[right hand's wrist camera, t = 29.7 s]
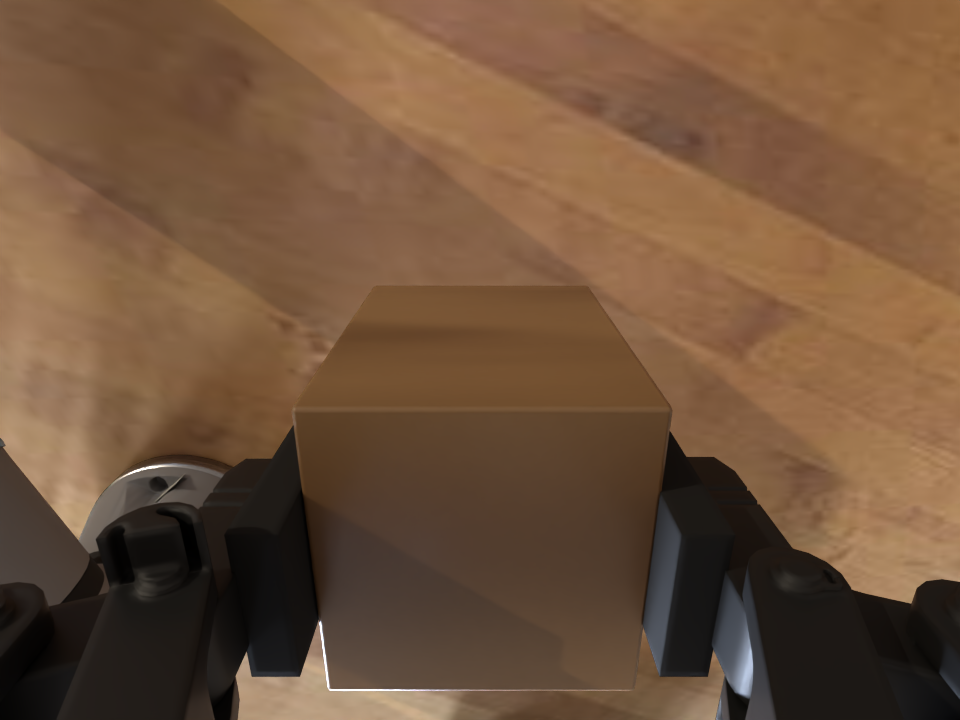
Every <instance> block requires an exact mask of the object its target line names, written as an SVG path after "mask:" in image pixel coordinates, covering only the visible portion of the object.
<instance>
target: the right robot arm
mask: <svg viewBox="0 0 960 720" xmlns="http://www.w3.org/2000/svg"><path fill="white" fill-rule="evenodd" d="M4 446H5V444H4V442H3V440H2V439H1V438H0V720H238V711H239V700H240V699H239V692H238V686H237V681H236V677H235V676H236V674H237V671H238V669H239V667H240V665H241V662H242V660H243V658H244V656H245V654H246V651H247V655H248V660H249V665H250V670H251V675H252V677H300V675H301V672H302V669H303V666H304V663H305V660H306V657H307V654H308V650H309V647H310V644H311V641H312V638H313V635H314V632H315V629H316V626H317V623H318V620H319V615H318V608H317V600H316V593H315V585H314V577H313V570H312V562H311V554H310V547H309V539H308V532H307V524H306V516H305V509H304V501H303V494H302V486H301V478H300V471H299V463H298V456H297V448H296V440H295V433H294V425H293V426H292V428H291V430H290V431H289V433H288V434H287V436H286V438H285V439H284V441H283V442H282V444H281V445H280V447H279V449H278V450H277V452H276V453H275V455H274V456H273V458H272V459H245V460H244V461H242V462H241V463H239V464H238V465H236V466H235V467H231V466H228V465H226V464H223V463H221V462H218V461H215V460H211V459H207V458H203V457H197V456H188V455H170V456H161V457H156V458H152V459H149V460H146V461H143V462H141V463H138V464H136V465H134V466H133V467H131V468H129V469H128V470H126V471H125V472H124V473H122V474H121V475H120V476H119V477H118V478H117V479H116V480H115V481H114V482H113V483H112V484H111V485H110V486H109V487H108V488H106V489H105V490H104V492H103V493H102V494H101V495H100V497H99V498H98V500H97V501H96V503H95V505H94V507H93V509H92V510H91V512H90V515H89V517H88V519H87V522H86V524H85V526H84V529H83V531H82V533H81V536H80V538H79V540H78V539H77V538H76V537H75V536H74V535H73V533H72V532H71V531H70V530H69V528H68V527H67V526H66V525H65V524H64V522H63V521H62V520H61V519H60V517H59V516H58V515H57V514H56V513H55V511H54V510H53V509H52V508H51V506H50V505H49V504H48V503H47V502H46V500H45V499H44V498H43V497H42V495H41V494H40V493H39V492H38V491H37V489H36V488H35V487H34V486H33V484H32V483H31V482H30V481H29V480H28V478H27V477H26V476H25V475H24V473H23V472H22V471H21V470H20V468H19V467H18V466H17V465H16V464H15V462H14V461H13V460H12V459H11V457H10V456H9V455H8V454H7V452H6V451H5V450H4V448H3V447H4ZM643 627H644V630H645V633H646V636H647V640H648V643H649V646H650V649H651V652H652V655H653V658H654V661H655V664H656V667H657V670H658V673H659V676H660V677H708V673H709V668H710V663H711V658H712V653H713V649H714V652H715V654H716V656H717V658H718V660H719V663H720V665H721V667H722V669H723V672H724V674H725V677H724V681H723V686H722V691H721V696H720V700H719V705H718V710H717V715H716V720H960V582H956V581H950V580H943V579H941V580H933V581H926V582H924V583H923V584H922V585H920V586H919V587H918V588H917V589H916V592H915V595H914V598H913V601H912V604H910V603H905V602H901V601H896V600H892V599H887V598H882V597H878V596H873V595H869V594H864V593H861V592H858V591H854V590H851V587H850V586H849V584H848V583H847V581H846V580H845V578H844V577H843V575H842V574H841V573H840V572H838V571H837V570H836V569H835V568H833V567H832V566H831V565H830V564H828V563H827V562H825V561H823V560H821V559H819V558H817V557H815V556H813V555H811V554H809V553H806V552H803V551H799V550H796V549H793V548H792V547H791V546H790V544H789V543H788V542H787V540H786V539H785V538H784V536H783V535H782V534H781V532H780V531H779V530H778V528H777V527H776V526H775V524H774V523H773V522H772V520H771V519H770V518H769V516H768V515H767V514H766V512H765V511H764V510H763V508H762V507H761V506H760V505H758V504H757V500H756V499H755V498H754V496H753V495H752V494H751V492H750V491H747V487H746V486H745V484H744V483H743V482H742V480H741V479H740V478H739V476H738V475H737V474H736V472H735V471H734V470H732V469H731V468H729V467H728V466H726V465H725V464H723V463H722V462H720V461H719V460H717V459H716V458H715V457H686V456H685V454H684V452H683V451H682V449H681V448H680V446H679V445H678V443H677V441H676V440H675V438H674V437H673V435H672V433H671V432H669V439H668V447H667V454H666V461H665V469H664V476H663V483H662V490H661V492H660V497H659V505H658V512H657V520H656V527H655V535H654V542H653V550H652V557H651V565H650V572H649V580H648V587H647V595H646V602H645V609H644V617H643Z"/></svg>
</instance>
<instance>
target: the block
mask: <svg viewBox="0 0 960 720" xmlns="http://www.w3.org/2000/svg"><path fill="white" fill-rule="evenodd" d="M292 417H293V425H294V433H295V440H296V448H297V456H298V463H299V471H300V478H301V486H302V494H303V501H304V509H305V516H306V524H307V532H308V539H309V547H310V554H311V562H312V570H313V577H314V585H315V593H316V600H317V608H318V615H319V623H320V631H321V638H322V646H323V653H324V661H325V669H326V676H327V684H328V688H329V690H332V691H631V690H634V688H635V683H636V676H637V668H638V661H639V653H640V646H641V639H642V631H643V617H644V609H645V602H646V595H647V587H648V580H649V572H650V565H651V557H652V550H653V542H654V535H655V527H656V520H657V512H658V505H659V497H660V492H661V490H662V483H663V476H664V469H665V461H666V454H667V447H668V439H669V432H670V424H671V417H672V408H671V406H670V404H669V403H668V402H667V400H666V399H665V397H664V396H663V394H662V393H661V391H660V390H659V389H658V387H657V386H656V384H655V383H654V381H653V380H652V378H651V377H650V376H649V374H648V373H647V371H646V370H645V368H644V367H643V365H642V364H641V363H640V361H639V360H638V358H637V357H636V355H635V354H634V352H633V351H632V350H631V348H630V347H629V345H628V344H627V342H626V341H625V339H624V338H623V337H622V335H621V334H620V332H619V331H618V329H617V328H616V326H615V325H614V324H613V322H612V321H611V319H610V318H609V316H608V315H607V313H606V312H605V311H604V309H603V308H602V306H601V305H600V303H599V302H598V300H597V299H596V298H595V296H594V295H593V293H592V292H591V290H590V289H589V287H587V286H375V287H374V288H373V289H372V291H371V292H370V294H369V295H368V296H367V298H366V299H365V301H364V302H363V304H362V305H361V307H360V308H359V310H358V311H357V313H356V314H355V316H354V317H353V319H352V320H351V322H350V323H349V325H348V326H347V327H346V329H345V330H344V332H343V333H342V335H341V336H340V338H339V339H338V341H337V342H336V344H335V345H334V347H333V348H332V350H331V351H330V353H329V354H328V355H327V357H326V358H325V360H324V361H323V363H322V364H321V366H320V367H319V369H318V370H317V372H316V373H315V375H314V376H313V378H312V379H311V381H310V382H309V384H308V385H307V386H306V388H305V389H304V391H303V392H302V394H301V395H300V397H299V398H298V400H297V401H296V403H295V404H294V406H293V408H292Z"/></svg>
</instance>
